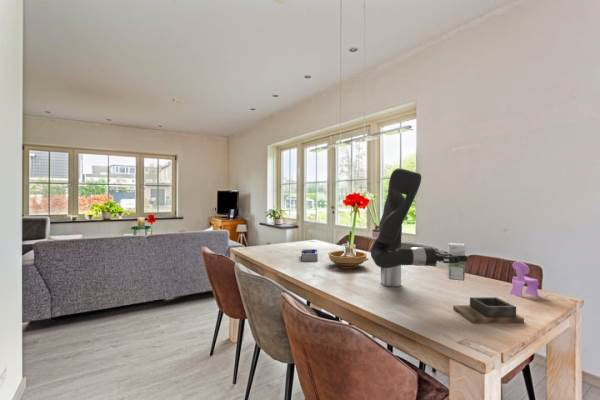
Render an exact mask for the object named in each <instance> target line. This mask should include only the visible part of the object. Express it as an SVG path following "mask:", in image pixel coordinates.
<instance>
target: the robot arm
mask: <svg viewBox="0 0 600 400" xmlns="http://www.w3.org/2000/svg"><path fill="white" fill-rule="evenodd" d="M421 184H422V175H421V173H418V172H415V171H412V170H409V169H406V168H394V170H393V171H392V173H391V174H390V177H389V181H388V188H387V196H386V199H385V202H384V207H383V212H382V216H381V218H380V221H379V224H378V231H379V233H378V236H377V238H376V240H375V241H374V243H373V245H372V247H371V251H370V257H371V259H372V260H373V262H374V264H375V265H376V266H377V267H379V268H380V283H381V285H383V286H384V287H400V286H402V266H415V267H434V266H435V265H436V263H437V262H438V263H443V264H447V263H459V262H465V263H466V262H467V261H468V255H465V256H457V255H451V254H449V253H448V251H444V250H435V248H433V247H432V246H425V247H424V246H420V247H419V246H414V247H402V233H403V232H402V231H403V223H404V221H405V219H406V217H407V216H408V215H407V214H408V213H409V210H410V209H411V206H412V205H413V202H414V200H415V199H416V196H417V193H418V191H419V188H420V186H421ZM404 195H405V196H404ZM453 258H455V260H453Z"/></svg>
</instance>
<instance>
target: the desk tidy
mask: <svg viewBox="0 0 600 400" xmlns="http://www.w3.org/2000/svg"><path fill="white" fill-rule="evenodd" d="M313 249H314V248H311V249H309V248H307V249H306V248H305V249H304V248H303V249H301V261H302V262H318V261H319V260H318V259H319V257H318V251H317V252H316V251H315V254H310V253H312V250H313ZM302 251H306V253H307V254H304V253H302Z"/></svg>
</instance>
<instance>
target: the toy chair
mask: <svg viewBox="0 0 600 400" xmlns="http://www.w3.org/2000/svg"><path fill="white" fill-rule="evenodd" d="M512 268H513V269H514V271H515V272H516V276H512V280H511V282H512V283H511V284H512V287H511V290H510V292H509V294H511V295H514V296H515V297H519V298H523V288H524V286H526V285H527V287H526V290H525V291H524V293H525V294H528V295H532V296H535V297H539V293H538V287H539V280H538V279H536V278H532V277H529V276H526V275H528V274H529V273H530V270H531V269H530V267H529V266H528V265H527V264H526V263H525V262H521V261H517V260H516V261H514V262H513V263H512ZM525 284H526V285H525Z"/></svg>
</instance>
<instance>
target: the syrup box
mask: <svg viewBox="0 0 600 400" xmlns="http://www.w3.org/2000/svg"><path fill="white" fill-rule="evenodd" d="M447 252H448V253H449V254H451V255H457V256H466V244H464V243H463V242H452V241H450V242H447ZM453 260H455V258H453ZM446 264H447V266H446V267H447V268H446V269H447V270H446V272H447V273H446V275H447V278H448V279H449V280H455V281H464V282H465V278H466V277H465V276H466V275H465V274H466V273H465V271H466V270H465V269H466V262H459V263H446Z"/></svg>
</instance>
